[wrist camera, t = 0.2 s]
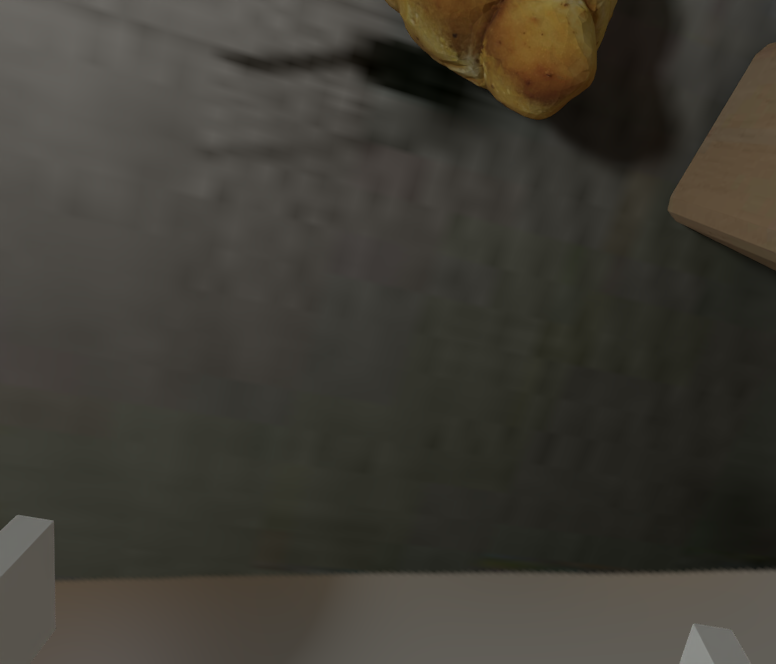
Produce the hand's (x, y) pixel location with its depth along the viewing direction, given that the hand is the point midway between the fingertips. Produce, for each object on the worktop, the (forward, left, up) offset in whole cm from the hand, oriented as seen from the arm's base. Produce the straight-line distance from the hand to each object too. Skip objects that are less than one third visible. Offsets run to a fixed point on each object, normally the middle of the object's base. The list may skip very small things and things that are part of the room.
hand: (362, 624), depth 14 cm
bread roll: (-17, +3, -28) cm, 33 cm away
